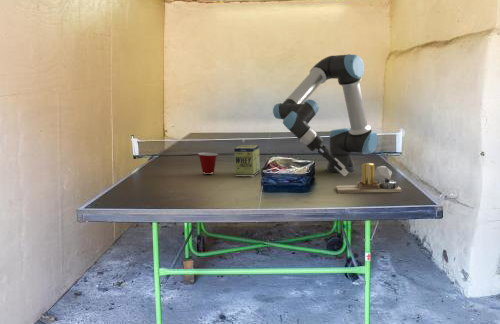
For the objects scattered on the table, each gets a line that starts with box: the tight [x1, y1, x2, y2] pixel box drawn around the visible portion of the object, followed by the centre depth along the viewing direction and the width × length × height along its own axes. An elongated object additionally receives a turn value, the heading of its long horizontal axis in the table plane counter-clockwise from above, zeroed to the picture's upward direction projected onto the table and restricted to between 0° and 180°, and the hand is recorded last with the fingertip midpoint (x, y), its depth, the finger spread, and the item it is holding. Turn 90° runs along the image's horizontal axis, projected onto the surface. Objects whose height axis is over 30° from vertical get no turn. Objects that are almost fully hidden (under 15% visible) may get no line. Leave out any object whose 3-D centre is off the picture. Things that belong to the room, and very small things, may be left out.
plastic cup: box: [197, 152, 219, 173], centre depth 299 cm, size 11×11×12 cm
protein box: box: [233, 144, 261, 176], centre depth 294 cm, size 10×16×16 cm
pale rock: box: [375, 165, 393, 182], centre depth 262 cm, size 8×9×10 cm
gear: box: [377, 177, 399, 189], centre depth 245 cm, size 9×9×4 cm
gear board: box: [336, 180, 403, 194], centre depth 246 cm, size 10×28×3 cm, turn 86°
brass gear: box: [360, 162, 376, 185], centre depth 245 cm, size 6×6×11 cm
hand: (345, 171), depth 245 cm, fingers open, 13 cm apart
